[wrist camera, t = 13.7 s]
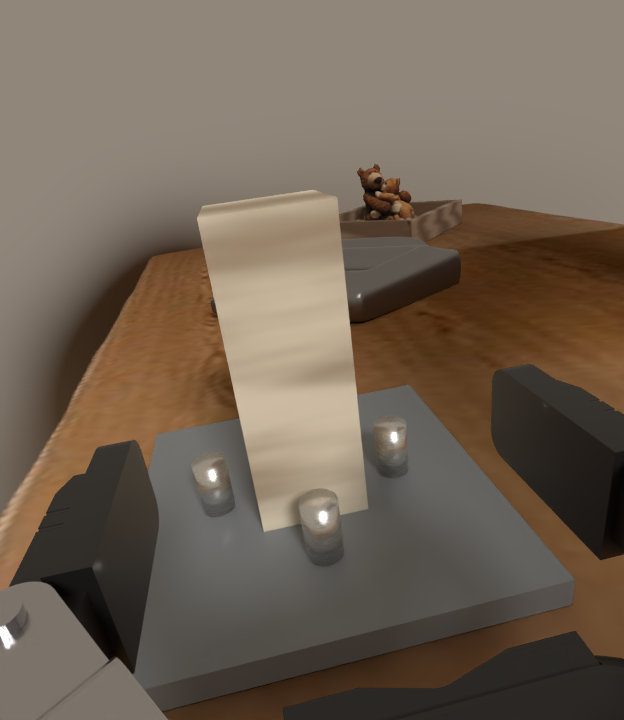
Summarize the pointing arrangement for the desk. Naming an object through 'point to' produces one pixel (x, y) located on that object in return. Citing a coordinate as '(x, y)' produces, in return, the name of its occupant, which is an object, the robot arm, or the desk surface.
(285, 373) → the birch post
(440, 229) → the walnut display rim
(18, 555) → the desk surface
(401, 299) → the emblem
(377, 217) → the bear figurine
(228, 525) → the slate base plate
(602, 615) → the desk surface
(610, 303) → the desk surface
